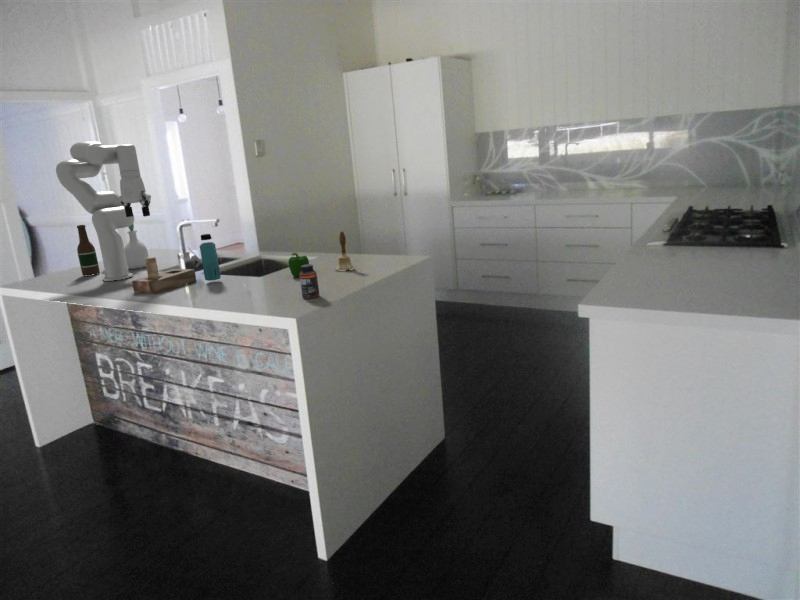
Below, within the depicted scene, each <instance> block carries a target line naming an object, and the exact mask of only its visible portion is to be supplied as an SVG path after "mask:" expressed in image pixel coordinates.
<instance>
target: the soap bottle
mask: <svg viewBox="0 0 800 600" xmlns="http://www.w3.org/2000/svg"><path fill="white" fill-rule="evenodd" d="M134 225H135V224H134V223H133V224H132V225H131V226H129V227H128V230H127V231H126V233H127V234H128V236H129V241H128V242H127V243H126V244H125V246H124V250H125V255H126V260H127V265H128V269H131V270H137V269H136V268H139V269H143V267H145V268H147V267H146V262H145V259H146V258H150V257H149V252H148V247H147V246H146V245H145V244H144V243H143V242H142V241H140V240H139V239H138V236H137V232H138V230H134V229H135V226H134Z"/></svg>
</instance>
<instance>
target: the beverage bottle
mask: <svg viewBox="0 0 800 600" xmlns="http://www.w3.org/2000/svg"><path fill="white" fill-rule="evenodd" d="M200 240H201V241H205V242H202V243H201V244H200V245H199V251H200V257H201V263H202V270H203V273H204V275H203V276H204V279H205V281H211V282H212V281H216V280H220V279H221V270H220V269H221V268H220V265H219V263H220V262H219V257H218V252H217V248H216V244H215V243H214V242H213V241H208V240H213V237H212V235H211V233H204V234H201V235H200Z"/></svg>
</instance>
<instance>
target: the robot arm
mask: <svg viewBox="0 0 800 600" xmlns="http://www.w3.org/2000/svg"><path fill="white" fill-rule="evenodd" d="M69 153H70V157H72V158H73V159H66V160H62V161H60V162H59V163H57V165H56V168H55V174H56V176H57V179H58V181H59V183H60V184H61V186H62V187H63V188H65V190H67V191H68V192H69V193H71V195H72V196H73V197H74V198H75V199H76V200H77V202H78V203H79V204H80V205H81V207H82V208H83V209H84V210H85V211H86V212H87V213H89V214H90V215H91V214H92V215H91V221H92V222H91V223H92V224H93V227H94V230H95V232H96V236H97V240H98V242H99V247H100V253H101V258H102V262H103V267H104V268H103V270H101V271H100V274H101V275H104V276H103V278H102V281H103V280H104V282H115V281H114V280H117V281H122V280H121V279H123V280H126V279H125V278H128V279H130V278H129V277H131V278H133V277H134V273H132V272H129V267H128V265H127V260H126V255H125V250H124V248H125V246H124V242H123V241H124V240H123V238H122V236H121V235H120V233H119V232H117V231H116V230H118V229H124V228H129V226H131V225H132V224H134V223H135V216H134V215H135V214H134V212H133V207H132V206H131V205H132V204H136V203H137V204H138V203H139V204H140V205H141V212H142V216H143V217H149V216H151V212H150V204H151V200H152V199H151V198H152V195H151V194H149V193H147V192H146V187H145V183H144V181H143V178H142V177H141V171H140V166H139V160H138V155H137V149H136V146H135V145H134V144H131V143H129V144H128V143H125V144H108V145H105V144H104V143H102V142H100V141H81V142H80V141H79V142H75V143H74V144H72V145H71V147H70V149H69ZM112 164H114V165H115V164H118V169H119V176H120V179H119V188H120V190H119V191H120V195H119V194H118V193H116V192H115V191H111V190H106V191H96V190H95V189H94V188H93V186H92V185H91V184H89V183H88V182H86V181H84V180H81V179H88V178H89V179H90V178H95V177H97V176H98V175H99V174H100V172H101V170H102V167H103V165H112ZM132 276H133V277H132Z"/></svg>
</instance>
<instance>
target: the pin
mask: <svg viewBox="0 0 800 600" xmlns="http://www.w3.org/2000/svg"><path fill="white" fill-rule="evenodd" d="M145 262H146V267H145V268H146V272H147V276H148V278H149V280H154V279H158V278H159V273H160V272H159V269H158V264H157V262H158V261H157V258H156V257H155V256H153V257H152V256H151V257H149V258H146V259H145Z"/></svg>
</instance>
